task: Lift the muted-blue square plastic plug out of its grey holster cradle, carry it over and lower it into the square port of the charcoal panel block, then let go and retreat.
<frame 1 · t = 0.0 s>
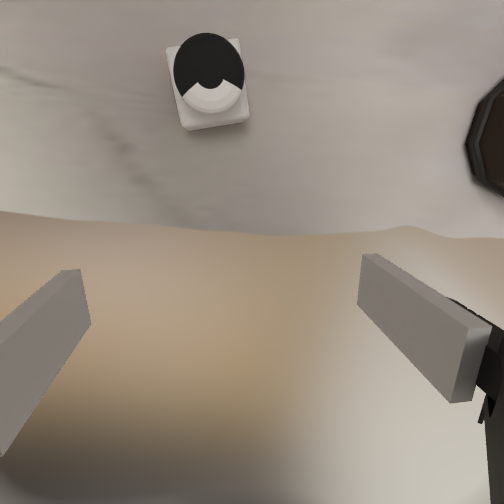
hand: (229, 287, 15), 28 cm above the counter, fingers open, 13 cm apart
medicine bottle: (209, 95, 37), on the counter
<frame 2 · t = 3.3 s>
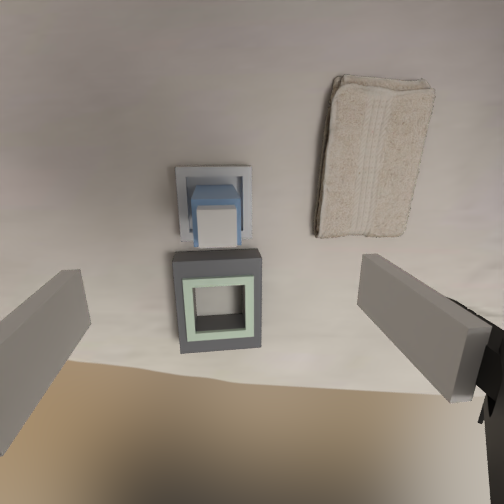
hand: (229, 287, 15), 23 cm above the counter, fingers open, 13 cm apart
washcloth: (364, 163, 38), on the counter
port block: (219, 294, 40), on the counter
plug: (215, 202, 35), point 1 cm above the counter, touching holster
holster: (215, 201, 36), on the counter
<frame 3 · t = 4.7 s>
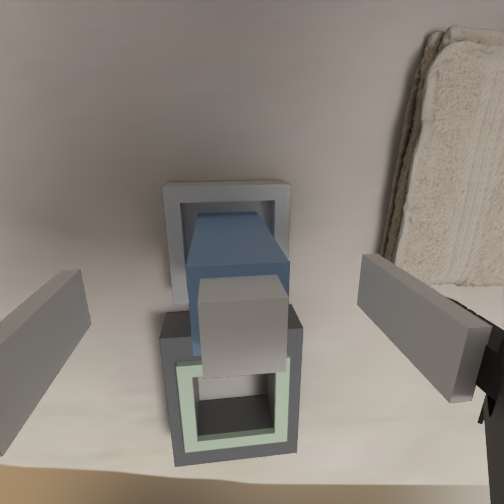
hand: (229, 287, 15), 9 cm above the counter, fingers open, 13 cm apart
washcloth: (458, 174, 24), on the counter
port block: (232, 370, 27), on the counter
plug: (228, 240, 22), point 1 cm above the counter, touching holster
holster: (228, 236, 23), on the counter
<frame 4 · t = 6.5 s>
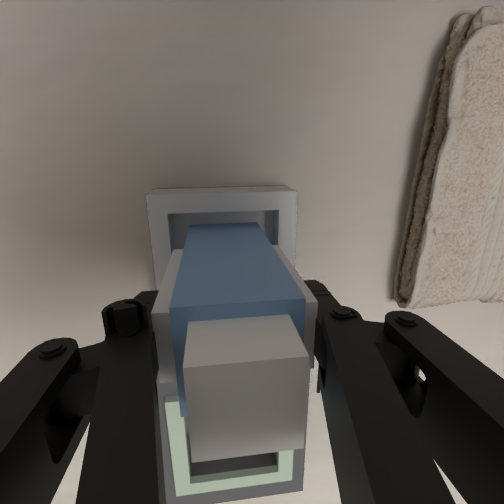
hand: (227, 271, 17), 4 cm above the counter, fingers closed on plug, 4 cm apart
washcloth: (483, 177, 22), on the counter
port block: (230, 398, 24), on the counter
plug: (225, 255, 19), point 1 cm above the counter, touching gripper
holster: (224, 250, 20), on the counter
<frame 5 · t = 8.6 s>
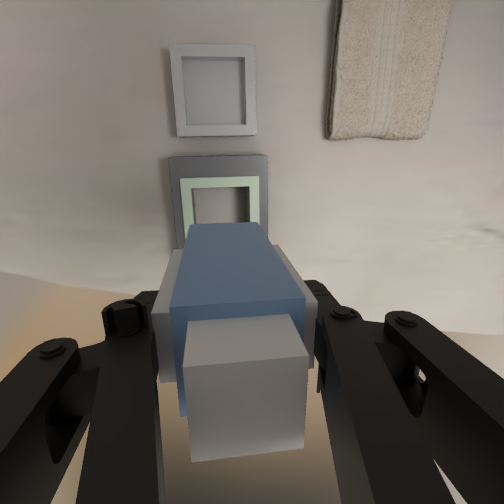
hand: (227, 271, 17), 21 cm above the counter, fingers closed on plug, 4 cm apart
washcloth: (380, 53, 34), on the counter
port block: (220, 208, 36), on the counter
plug: (225, 254, 19), point 18 cm above the counter, touching gripper
holster: (214, 95, 33), on the counter
when the fingers open (5 cm above the counter, at t = 11.1 s): plug drops 3 cm, resting in port block.
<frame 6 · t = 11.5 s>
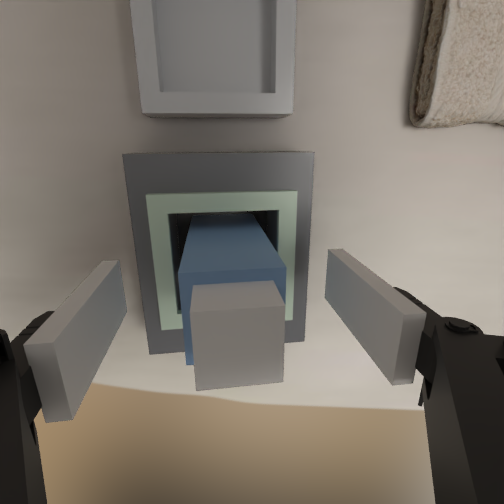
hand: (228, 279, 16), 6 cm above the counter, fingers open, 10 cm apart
port block: (223, 243, 21), on the counter
plug: (223, 243, 21), resting in port block
holster: (215, 40, 18), on the counter
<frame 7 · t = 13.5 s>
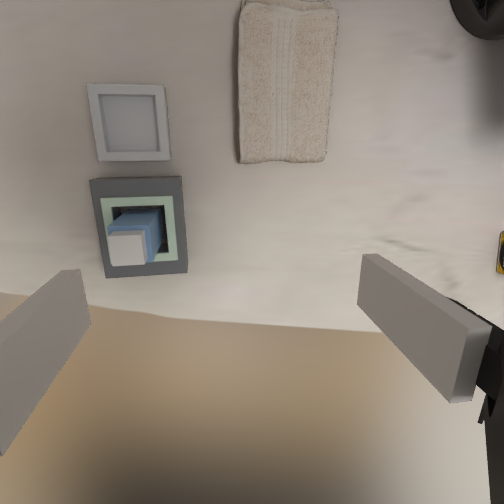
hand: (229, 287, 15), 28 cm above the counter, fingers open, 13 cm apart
washcloth: (281, 89, 39), on the counter
port block: (146, 223, 41), on the counter
plug: (146, 223, 41), resting in port block
holster: (134, 125, 37), on the counter
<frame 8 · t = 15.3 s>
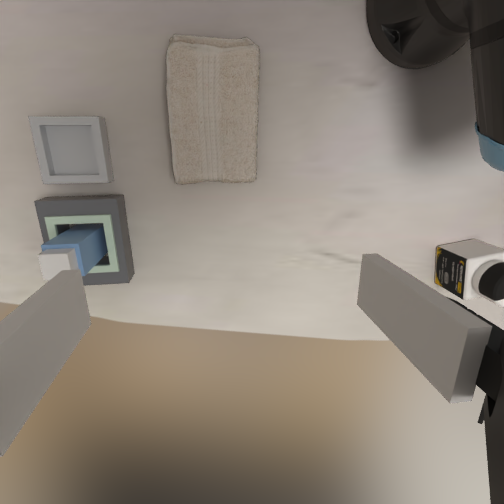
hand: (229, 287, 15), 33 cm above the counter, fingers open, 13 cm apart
washcloth: (214, 116, 43), on the counter
port block: (93, 237, 45), on the counter
plug: (93, 237, 45), resting in port block
holster: (78, 150, 41), on the counter
medicine bottle: (452, 260, 55), on the counter
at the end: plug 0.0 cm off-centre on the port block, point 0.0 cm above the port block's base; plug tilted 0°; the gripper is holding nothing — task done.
